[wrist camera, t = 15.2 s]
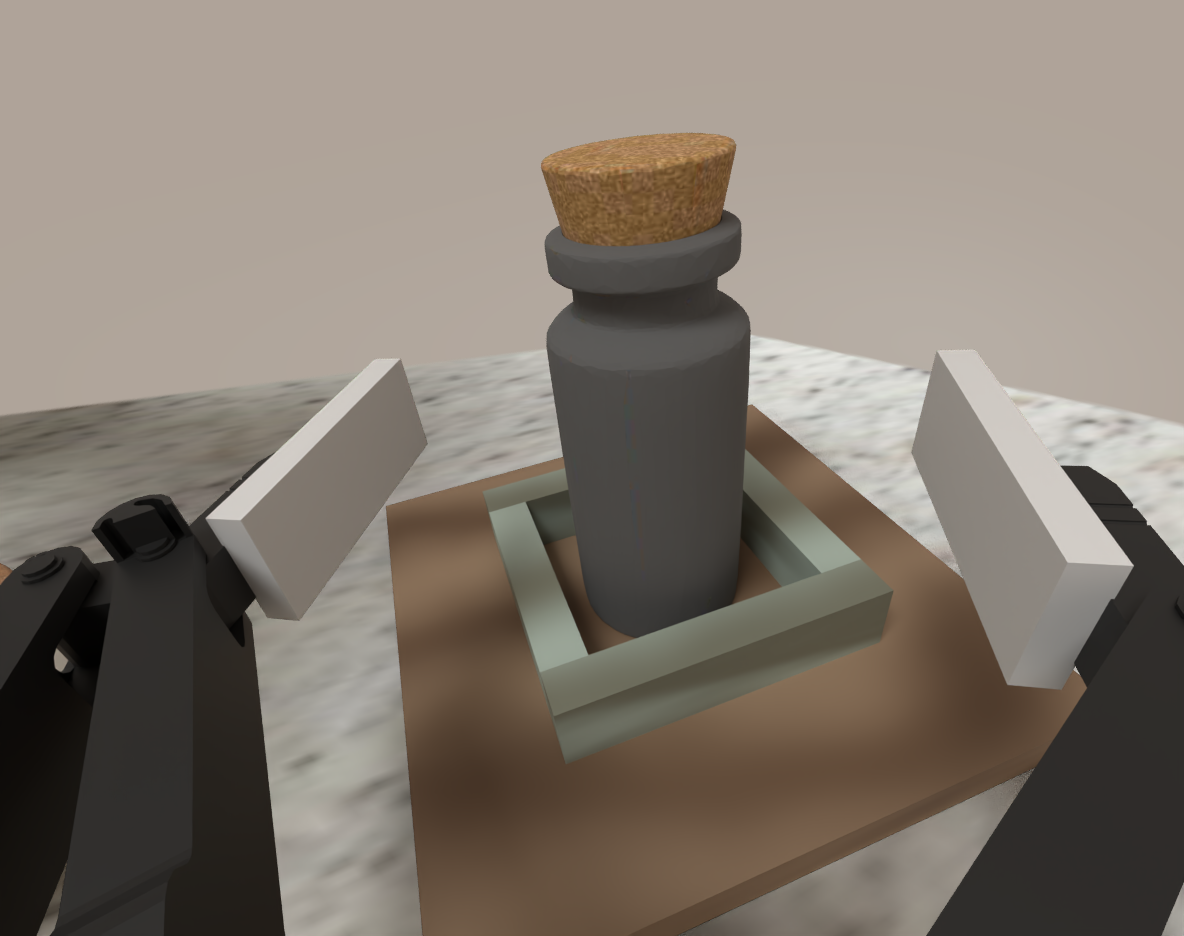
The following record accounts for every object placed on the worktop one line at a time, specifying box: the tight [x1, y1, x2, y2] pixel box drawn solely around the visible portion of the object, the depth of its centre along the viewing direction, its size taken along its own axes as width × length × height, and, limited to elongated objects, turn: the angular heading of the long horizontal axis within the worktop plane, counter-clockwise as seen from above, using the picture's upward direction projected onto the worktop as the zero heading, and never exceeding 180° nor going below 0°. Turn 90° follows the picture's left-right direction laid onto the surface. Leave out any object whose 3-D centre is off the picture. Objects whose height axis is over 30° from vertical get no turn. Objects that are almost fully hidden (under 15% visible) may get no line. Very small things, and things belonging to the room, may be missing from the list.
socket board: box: [386, 405, 1087, 936], centre depth 23 cm, size 20×20×4 cm
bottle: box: [541, 133, 751, 638], centre depth 19 cm, size 6×6×15 cm
